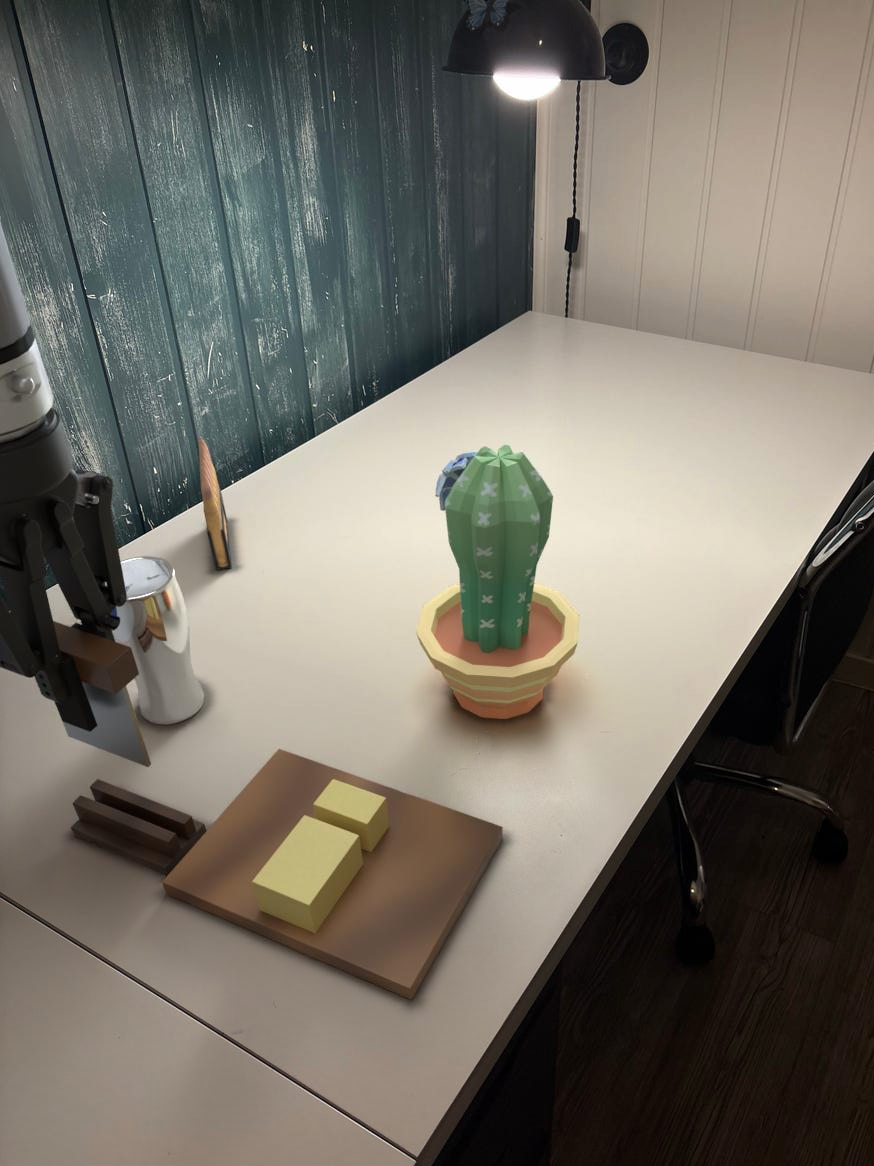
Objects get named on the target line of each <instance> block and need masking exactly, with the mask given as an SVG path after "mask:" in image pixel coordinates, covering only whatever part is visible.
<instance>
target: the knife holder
mask: <svg viewBox="0 0 874 1166" xmlns="http://www.w3.org/2000/svg"><path fill="white" fill-rule="evenodd" d="M89 789H90V791H91V793H92V797H93V799H92V798H90V797H87V796H85V795H82V794H80V795H79V796H77V798H76V799H75V800H73V802H71V803H72V806H73V808H74V811H75V813H76V815H77V818H78V819H77V820H76V821H75V822H74V823H73V824H72V826H70V830H71V832H72V834H73V836H74V837H78V838H80V839H82V840H85V841H87V842H89V843H92V844H94V845H96V846H99V847H101V848H104V849H106V850H108V851H109V852H112V853H115V854H118V855H119V856H122V857H125V858H127V859H130V860H131V861H133V862H137V863H139V864H141V865H143V866H146V867H149V868H151V869H153V870H156V871H157V872H160V873H163V874H165V875H166V876H168V875H169V874H170V872H171V871H172V870H173V869H174V868H175V867H176V866H177V864H178V863H179V862H180V861H181V860H182V859H183V858H184V856H185V855H186V854H187V853H188V852H189V851H190V850H191V848H192V847H193V846H194V845H195V844H196V843H197V842H198V840H199V839H200V838H201V837H202V836H203V835H204V834H205V832H206V831H207V827H206V825H205V823H204V822H201V821H199V820H196V819H194V817H193V816H192V815H190V814H189V813H188V814H187V813H185V812H184V811H183V812H182V811H180V810H178V809H176V808H173V807H170V806H167V805H165V804H162V803H160V802H157V801H155V800H152V799H149V798H147V797H146V796H142V795H140V794H137V793H134V792H133V791H130V790H127V789H124V788H122V787H119V786H117V785H114V784H113V783H109V782H106V781H105V780H101V779H99V778H97V779H95V780H94V782H93V783H91V784H90V786H89Z"/></svg>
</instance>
